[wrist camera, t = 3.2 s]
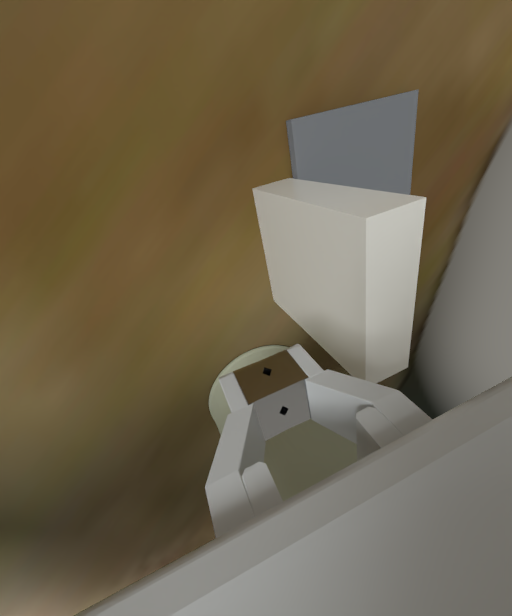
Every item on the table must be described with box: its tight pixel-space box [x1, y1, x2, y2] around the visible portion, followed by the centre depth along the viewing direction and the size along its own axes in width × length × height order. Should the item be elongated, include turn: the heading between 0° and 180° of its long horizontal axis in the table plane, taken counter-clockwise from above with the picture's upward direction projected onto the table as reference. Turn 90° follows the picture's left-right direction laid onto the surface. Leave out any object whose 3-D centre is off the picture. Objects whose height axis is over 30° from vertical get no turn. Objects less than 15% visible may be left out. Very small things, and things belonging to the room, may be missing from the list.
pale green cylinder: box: [209, 345, 357, 501], centre depth 20 cm, size 9×9×12 cm
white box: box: [253, 178, 426, 383], centre depth 16 cm, size 3×8×10 cm, turn 12°
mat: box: [286, 90, 418, 195], centre depth 21 cm, size 9×14×1 cm, turn 13°
